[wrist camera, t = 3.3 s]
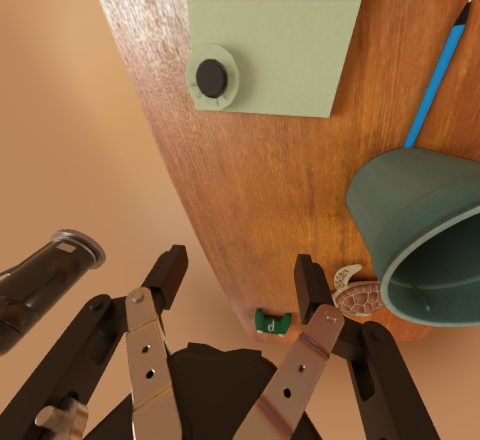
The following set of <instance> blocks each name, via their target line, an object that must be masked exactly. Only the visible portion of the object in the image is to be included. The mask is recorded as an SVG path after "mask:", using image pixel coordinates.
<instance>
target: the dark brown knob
mask: <svg viewBox="0 0 480 440" xmlns="http://www.w3.org/2000/svg"><path fill="white" fill-rule="evenodd" d="M225 81H226V79H225V74H224V72H223V70H222V68H221V67H220V66H219V65H217V64H216V63H214V62H211V61H206V62H203V63H202V64H200V66H199V67H198V69H197V72H196V82H197V85H198V87H199V89H200V90H201V91H202V92H203V93H204V94H206V95H208V96H214V95H218V94H220V93H221V92H222V91H223V89H224V87H225Z"/></svg>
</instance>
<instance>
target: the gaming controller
mask: <svg viewBox="0 0 480 440" xmlns="http://www.w3.org/2000/svg"><path fill="white" fill-rule="evenodd" d="M291 321H292V315H291V314H285V315H284V317H283V318H282V319H281V320H280V319H278V318H269V317H266V316H265V317H264V316H263V312H262V310H261V309H257V311H256V315H255V325H256V329H257V331H258V333H259V334H262V332H266V333H271V334H279V336H280V337H281V338H283V337H284V335H285V333H286V331H287V330H288V328H289V326H290V324H291Z"/></svg>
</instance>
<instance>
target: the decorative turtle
mask: <svg viewBox="0 0 480 440" xmlns="http://www.w3.org/2000/svg"><path fill="white" fill-rule="evenodd" d="M361 268H362V266H361V264H354V265H349V266H346V267H343V268H341V269H340V270H338V272H337V273H336V275H335V277H334V285H335V287H336V289H337V291H336V292H335V293H333V294H331V295H332V298H333V301H334V304H335V307H337V308H338V309H339V310H341V311H343V312H344V313H345V314H347V315H350V316H369V315H370V313H368V312H373V311H376V310H378V309H380V308H382V307H384V306H385V305H384V303H383V301H382V299H381V295H380V290H379V285H380V282H379V281H359V282H352V283H348V280H349V278H350V277H351V276H352V275H353V274H355V273H356V272H358V271H359V270H360V269H361Z"/></svg>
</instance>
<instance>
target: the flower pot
mask: <svg viewBox="0 0 480 440" xmlns="http://www.w3.org/2000/svg"><path fill="white" fill-rule="evenodd" d="M346 204H347V208H348V210H349V212H350V214H351V216H352V218H353V220H354V222H355V224H356V226H357V228H358V230H359V232H360V234H361V237H362V239H363V241H364V243H365V245H366V247H367V249H368V251H369V253H370V255H371V262H372V266H373V269H374V271H375V273H376V275H377V278H378V280H379V282H380V285H379V290H380V295H381V299H382V301H383V303H384V305H385V306H386V307H387V308H388V309H389V310H390V311H391V312H392V313H394V314H395V315H396V316H398V317H400V318H402V319H405V320H408V321H411V322H414V323H419V324H423V325H430V326H440V327H457V326H474V325H480V162H477V161H473V160H469V159H465V158H460V157H456V156H452V155H448V154H444V153H440V152H436V151H432V150H428V149H424V148H413V147H403V148H397V149H393V150H390V151H387V152H385V153H383V154H381V155H379V156H377V157H375V158H373V159H372V160H370V161H369V162H368V163H366V164H365V165H364V166H363V167H362V168H361V169H360V170H359V171H358V172H357V173H356V174H355V175H354V177H353V178H352V180H351V184H350V186H349V189H348V191H347V192H346Z"/></svg>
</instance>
